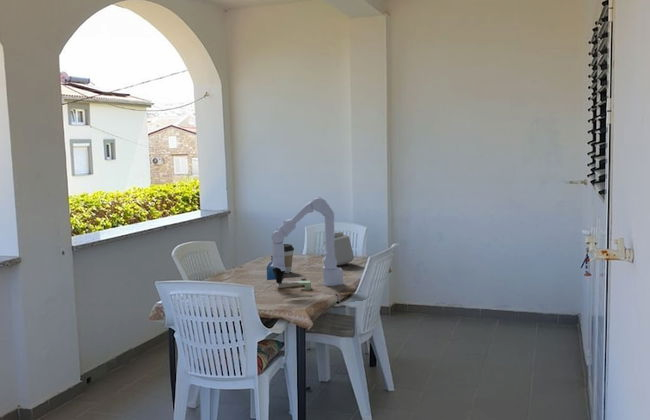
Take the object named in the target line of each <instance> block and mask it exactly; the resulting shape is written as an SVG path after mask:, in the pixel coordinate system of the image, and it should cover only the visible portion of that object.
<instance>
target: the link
mask: <svg viewBox="0 0 650 420" xmlns="http://www.w3.org/2000/svg"><path fill="white" fill-rule="evenodd" d="M299 281H300V280H297V281H285V282H282V283H277V282H276V287H278V288H286V287H296V286H305V285H298V282H299ZM306 281H308V280H307V279H306Z"/></svg>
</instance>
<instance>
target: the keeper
mask: <svg viewBox="0 0 650 420" xmlns="http://www.w3.org/2000/svg"><path fill="white" fill-rule="evenodd" d="M298 281H299V282H298V285H305V290H310V289H311V285H312V281H311V280H307V281H301V280H298Z"/></svg>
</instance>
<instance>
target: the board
mask: <svg viewBox="0 0 650 420" xmlns="http://www.w3.org/2000/svg"><path fill="white" fill-rule="evenodd" d="M306 280H307V278H305V277H302V278H301V279H300V281H306ZM271 288H272V289H273V290H274V291H276V292H277V293H278V294H280V295H281V296H288V295H298V294H307V293H315V292H316V293H317V292H321V290H320V289H319V288H317V287H316V286H314V285H313V284H311V289H310V290H305V286H296V287H286V288H278V287H277V286H274V287H271Z"/></svg>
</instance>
